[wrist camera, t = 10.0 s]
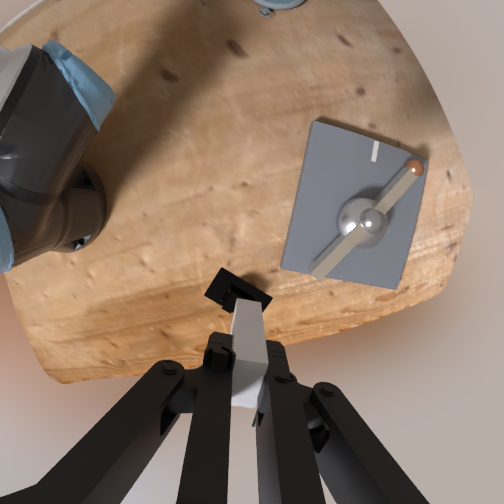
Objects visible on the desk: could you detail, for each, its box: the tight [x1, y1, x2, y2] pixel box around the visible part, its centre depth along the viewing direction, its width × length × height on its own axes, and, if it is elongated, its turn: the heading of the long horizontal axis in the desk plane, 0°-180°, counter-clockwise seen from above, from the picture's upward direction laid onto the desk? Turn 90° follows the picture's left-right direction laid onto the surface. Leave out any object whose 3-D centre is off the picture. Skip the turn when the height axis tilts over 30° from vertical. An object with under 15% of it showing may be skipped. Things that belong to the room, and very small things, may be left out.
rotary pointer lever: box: [307, 160, 425, 282], centre depth 38 cm, size 7×23×5 cm, turn 136°
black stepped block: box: [204, 268, 273, 314], centre depth 44 cm, size 12×7×5 cm, turn 57°
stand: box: [280, 121, 428, 290], centre depth 42 cm, size 20×22×2 cm
